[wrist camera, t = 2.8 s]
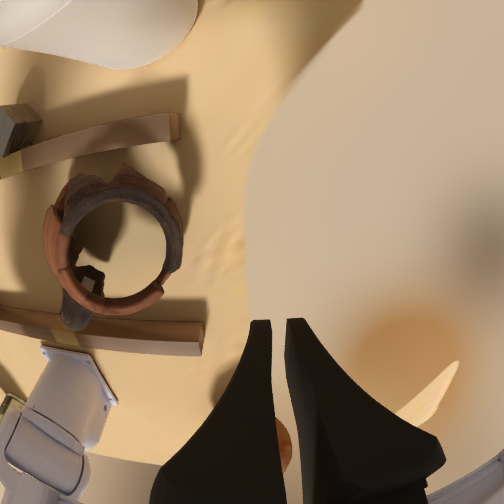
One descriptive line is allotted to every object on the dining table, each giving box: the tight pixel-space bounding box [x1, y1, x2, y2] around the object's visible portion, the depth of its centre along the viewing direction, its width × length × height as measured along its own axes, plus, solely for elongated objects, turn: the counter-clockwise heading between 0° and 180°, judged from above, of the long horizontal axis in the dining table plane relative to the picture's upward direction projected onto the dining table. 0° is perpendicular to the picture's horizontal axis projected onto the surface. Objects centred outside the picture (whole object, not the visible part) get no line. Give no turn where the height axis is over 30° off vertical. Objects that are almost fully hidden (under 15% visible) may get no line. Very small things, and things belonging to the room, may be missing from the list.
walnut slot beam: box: [0, 112, 205, 356], centre depth 17 cm, size 17×28×2 cm, turn 91°
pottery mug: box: [43, 163, 183, 331], centre depth 16 cm, size 12×10×8 cm
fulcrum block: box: [0, 104, 42, 158], centre depth 13 cm, size 3×3×3 cm
